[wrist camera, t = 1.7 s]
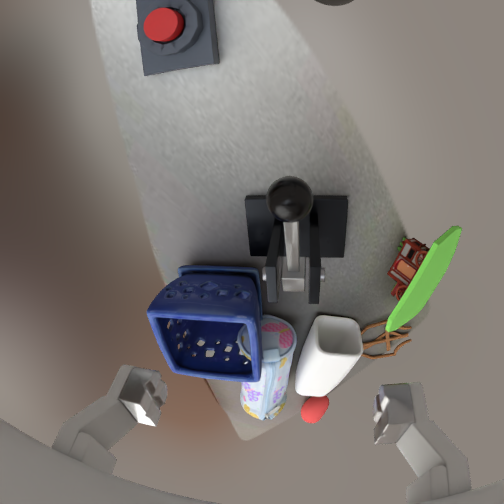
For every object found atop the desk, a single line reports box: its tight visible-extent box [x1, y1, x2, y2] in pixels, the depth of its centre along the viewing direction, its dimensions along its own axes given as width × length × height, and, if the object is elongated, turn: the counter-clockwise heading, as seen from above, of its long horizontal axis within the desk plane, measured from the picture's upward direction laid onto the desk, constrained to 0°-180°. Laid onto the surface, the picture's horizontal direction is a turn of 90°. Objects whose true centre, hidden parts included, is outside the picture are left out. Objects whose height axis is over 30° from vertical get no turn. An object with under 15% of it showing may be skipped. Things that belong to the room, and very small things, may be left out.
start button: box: [144, 8, 184, 42], centre depth 23 cm, size 4×4×2 cm
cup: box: [295, 315, 363, 397], centre depth 47 cm, size 7×7×15 cm
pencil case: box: [237, 315, 297, 421], centre depth 49 cm, size 21×9×10 cm, turn 0°
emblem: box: [361, 320, 412, 359], centre depth 48 cm, size 12×10×1 cm
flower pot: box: [147, 265, 263, 382], centre depth 42 cm, size 13×13×12 cm
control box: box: [136, 0, 219, 76], centre depth 25 cm, size 10×8×4 cm
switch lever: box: [266, 176, 313, 291], centre depth 26 cm, size 14×3×3 cm, turn 4°
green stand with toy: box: [385, 226, 462, 332], centre depth 36 cm, size 15×15×6 cm
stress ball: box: [301, 395, 329, 423], centre depth 59 cm, size 5×9×6 cm
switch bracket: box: [245, 195, 348, 304], centre depth 34 cm, size 8×12×12 cm, turn 95°
